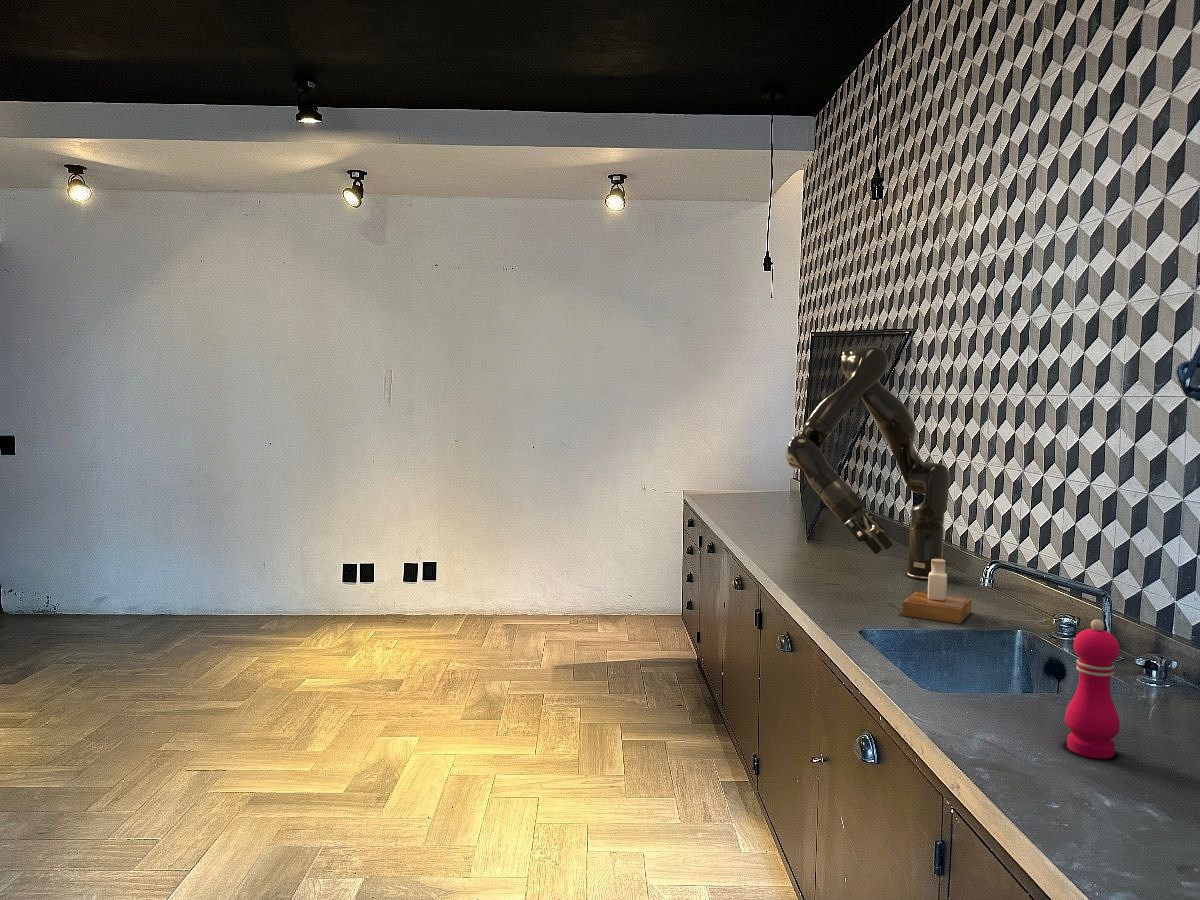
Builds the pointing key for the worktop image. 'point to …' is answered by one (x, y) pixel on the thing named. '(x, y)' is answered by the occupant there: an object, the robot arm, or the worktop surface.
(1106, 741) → the pepper mill
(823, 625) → the worktop surface
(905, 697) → the worktop surface
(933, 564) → the pepper shaker
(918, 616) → the riser
